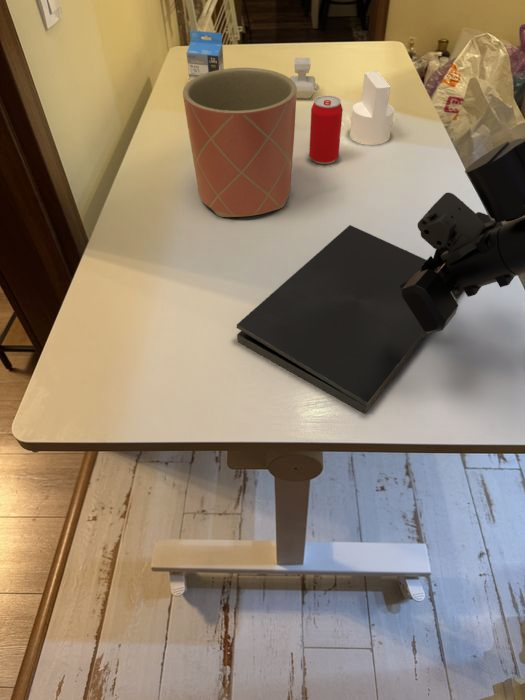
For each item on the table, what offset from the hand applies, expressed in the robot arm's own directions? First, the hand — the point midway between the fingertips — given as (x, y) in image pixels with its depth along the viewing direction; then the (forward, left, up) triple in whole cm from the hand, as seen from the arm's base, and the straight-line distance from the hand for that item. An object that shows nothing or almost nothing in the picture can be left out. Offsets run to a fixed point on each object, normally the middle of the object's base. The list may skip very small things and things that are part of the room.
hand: (402, 288), depth 69 cm
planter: (+32, -31, -9) cm, 45 cm away
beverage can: (+20, -49, -9) cm, 53 cm away
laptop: (+6, -3, -9) cm, 11 cm away
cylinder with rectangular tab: (+12, -62, -9) cm, 63 cm away
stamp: (+32, -80, -9) cm, 86 cm away
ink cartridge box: (+58, -81, -9) cm, 100 cm away
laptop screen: (+6, -3, -6) cm, 9 cm away
